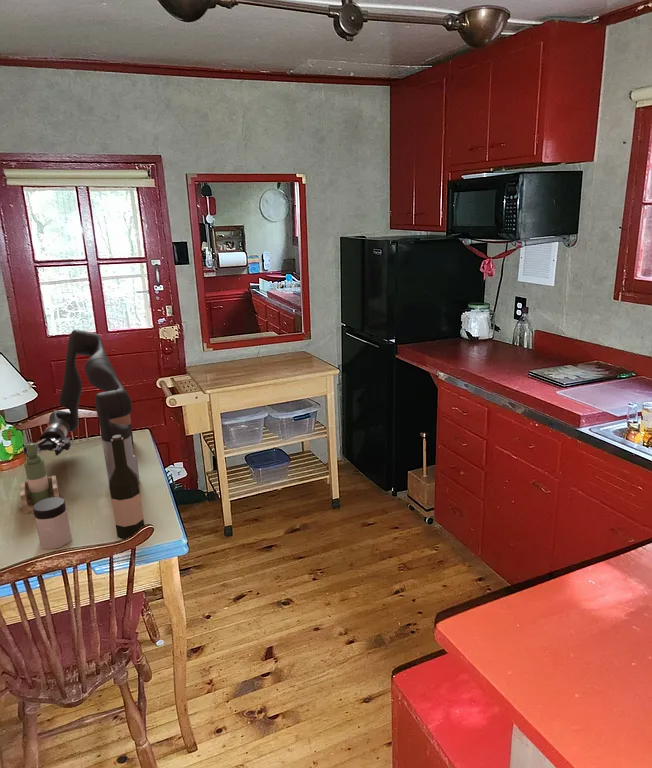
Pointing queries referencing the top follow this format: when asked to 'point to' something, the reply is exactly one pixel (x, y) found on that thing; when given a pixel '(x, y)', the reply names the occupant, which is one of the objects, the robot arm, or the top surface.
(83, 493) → the top surface
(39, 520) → the jar
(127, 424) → the travel mug
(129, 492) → the wine bottle
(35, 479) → the green bottle
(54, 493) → the cradle
